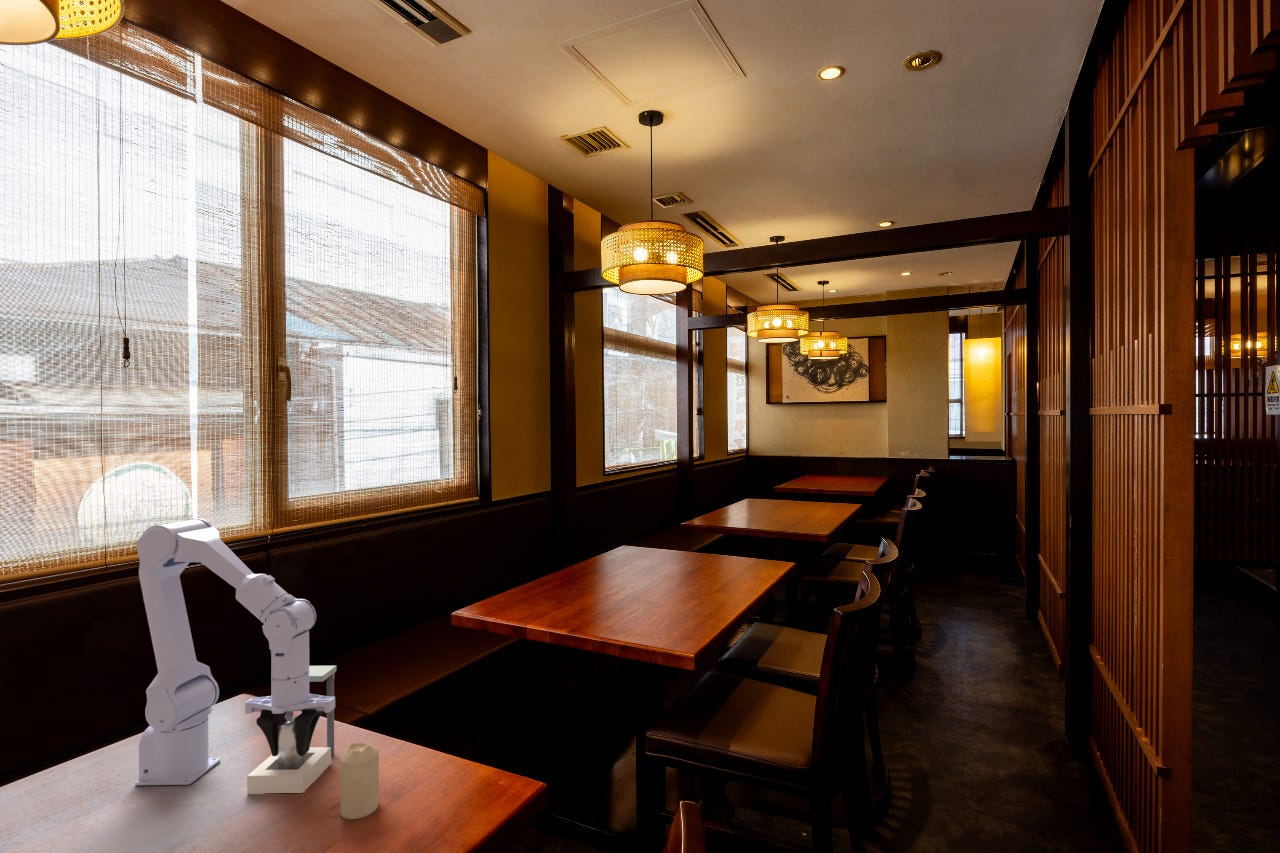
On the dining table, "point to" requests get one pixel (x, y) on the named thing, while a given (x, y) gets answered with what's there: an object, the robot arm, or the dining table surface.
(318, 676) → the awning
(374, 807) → the candle
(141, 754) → the robot arm
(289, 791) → the socket block
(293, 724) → the peg
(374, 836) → the dining table surface
